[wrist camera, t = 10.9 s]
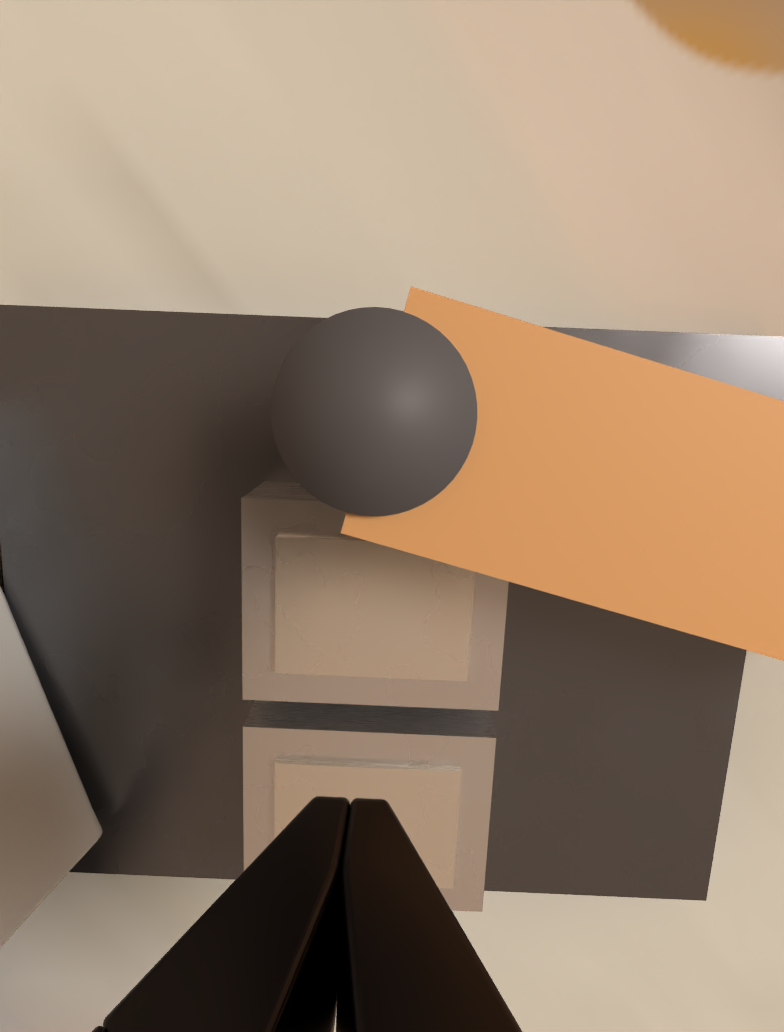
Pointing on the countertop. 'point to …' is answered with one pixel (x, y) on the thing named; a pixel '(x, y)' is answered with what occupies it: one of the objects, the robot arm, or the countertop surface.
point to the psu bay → (329, 633)
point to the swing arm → (544, 463)
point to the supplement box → (34, 789)
